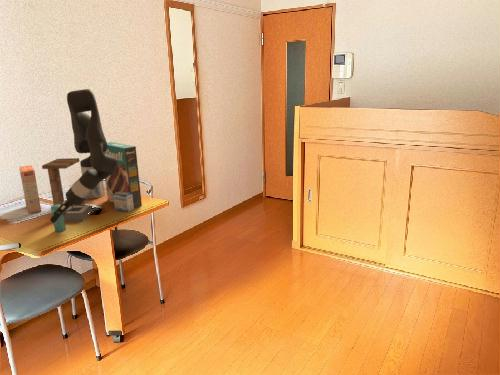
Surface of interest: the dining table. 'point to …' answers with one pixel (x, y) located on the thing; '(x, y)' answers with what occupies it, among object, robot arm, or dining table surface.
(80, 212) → the socket block
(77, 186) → the robot arm
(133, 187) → the cake mix box
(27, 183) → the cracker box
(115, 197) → the medicine box
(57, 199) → the wooden pedestal stand
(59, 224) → the peg
